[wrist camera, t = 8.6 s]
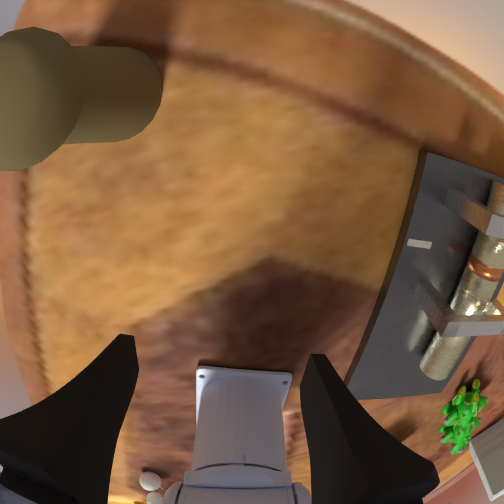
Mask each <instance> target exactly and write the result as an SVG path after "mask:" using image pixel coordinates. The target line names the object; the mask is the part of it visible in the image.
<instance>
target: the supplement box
mask: <svg viewBox="0 0 504 504" xmlns="http://www.w3.org/2000/svg"><path fill="white" fill-rule="evenodd" d="M470 453H471V456H472V458H473V460H474V462H475V465H476V467H477V469H478V472H479V474H480V477H481V479H482V481H483V484H484V486H485V489H486V491H487V494H488V496H489V499H490V501H493V500H494V499H496V498H497V497H499V496H500V495H502V494H504V418H502V419H501V420H500V421H498V422H497V423H495V424H494V425H492V426H491V427H489V428H488V429H486V430H485V431H483V432H482V433H480V434H478V435H477V436H475V437H474V438H472V439H470Z"/></svg>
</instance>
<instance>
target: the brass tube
mask: <svg viewBox="0 0 504 504" xmlns="http://www.w3.org/2000/svg"><path fill="white" fill-rule="evenodd" d="M486 206H487V207H488V208H490V209H492V210H493V211H495V212H496V213H499V214H503V215H504V184H502V183H499V182H496V181H493V183H492V187H491V191H490V195H489V198H488V202H487V205H486ZM503 271H504V239H503V238H498V237H494V236H489V235H485V234H484V233H483V232H481V231H480V230H479V231H478V234H477V237H476V240H475V242H474V245H473V248H472V251H471V253H470V256H469V259H468V261H467V264H466V267H465V269H464V272H463V274H462V277H461V279H460V281H459V284H458V286H457V288H456V291H455V293H454V295H453V298H452V300H451V302H450V304H449V305H450V307H451V308H452V309H453V311H454V312H455V313H456V314H457V315H483V314H484V312H485V310H486V308H487V306H488V304H489V302H490V300H491V298H492V295H493V293H494V291H495V289H496V287H497V284H498V282H499V280H500V278H501V276H502V273H503ZM470 338H471V336H463V337H441V336H440V335H439V333H438V332H437V331H436V333H435V335H434V337H433V339H432V341H431V343H430V344H429V346H428V348H427V350H426V352H425V354H424V355H423V357H422V359H421V361H420V368H421V370H422V372H423V373H424V374H425V375H426V376H428V377H429V378H431V379H434V380H444V379H445V378H447V376H448V375H449V373H450V371H451V370H452V368H453V367H454V365H455V364H456V362H457V360H458V359H459V357H460V355H461V354H462V352H463V350H464V349H465V347H466V345H467V343H468V342H469V340H470Z"/></svg>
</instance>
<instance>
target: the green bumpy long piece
mask: <svg viewBox="0 0 504 504" xmlns="http://www.w3.org/2000/svg"><path fill="white" fill-rule="evenodd" d="M479 387H480V381H479V379H475V380H474V382H473V384H472V390H471V391H468V392H466V387H465V385H464V386H462V387H461V388H460V389H459V390H458V394H457V395H456V396H455V397H454V399H453V400H454V401H453V400H452V403H448V404H447V405H446V406H445V407H444V409H443V410H442V413H443V414H445V415H446V414H449V413H450V414H449V415H448V416H447V417H446V418H445V419H444V425H443V426H442V427H441V428H440V430H439V431H440V432H442V433H443V432H446V431H447V432H446V433H445V434H444V435H443V436H442V437H441V439H440V442H441V443H442V444H446V443H450V442H451V443H450V444H451V450H450V453H451V454H458V453H463V452H464V451H465V449H466V448H467V446H468V444H469V443H470V440H469V439H470V438H472V437H470V435H471V432H472V431H474V430H475V429H476V428H477V427H478V426H479V425H480V422H481V418H476V417H477V414H478V412H480V411H481V410H482V409H483V408H484V407H485V406H486V404H487V401H488V398H487V397H483V396H479V392H480V388H479ZM450 428H452V429H450Z"/></svg>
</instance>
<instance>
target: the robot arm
mask: <svg viewBox="0 0 504 504" xmlns="http://www.w3.org/2000/svg"><path fill="white" fill-rule="evenodd" d="M138 373H139V366H138V359H137V353H136V347H135V340H134V336H131V335H125V334H119V335H118V336H117V337H116V338H115V339H114V340H113V341H112V342H111V343H110V344H109V345H108V346H107V347H106V348H105V349H104V350H103V351H102V352H101V353H100V354H99V355H98V356H97V357H96V358H95V359H94V360H93V361H92V362H91V363H90V364H89V365H88V366H87V367H86V368H85V369H84V370H83V371H81V372H80V373H79V374H78V375H77V376H76V377H75V378H73V379H72V380H71V381H70V382H68V383H67V384H66V385H65V386H63V387H62V388H60V389H59V390H58V391H56V392H55V393H53V394H52V395H50V396H49V397H47V398H45V399H44V400H42V401H40V402H39V403H37V404H35V405H33V406H31V407H29V408H27V409H25V410H23V411H21V412H18V413H16V414H13V415H11V416H8V417H5V418H2V419H0V464H1V466H3V471H2V473H1V472H0V504H107V503H108V491H109V483H110V476H111V470H112V464H113V458H114V453H115V448H116V443H117V439H118V436H119V432H120V429H121V426H122V423H123V421H124V418H125V415H126V412H127V410H128V407H129V404H130V401H131V398H132V396H133V393H134V390H135V386H136V382H137V377H138ZM201 374H202V375H201ZM284 381H285V382H284ZM291 382H292V374H291V373H288V372H271V371H256V370H242V369H231V368H220V367H211V366H198V367H197V369H196V425H197V427H196V435H195V443H194V451H193V459H192V468H191V471H185V474H184V482H180V481H177V482H175V483H174V484H173V485H172V486H171V487H169V488H168V489H167V491H166V492H165V494H164V497H163V500H162V504H423V501H422V498H423V497H425V496H426V495H427V494H429V493H430V492H431V491H433V490H434V489H435V488H436V487H437V486H438V484H439V483H440V480H439V477H438V473H437V470H436V468H435V466H434V464H433V462H431V461H429V460H427V459H425V458H424V457H422V456H420V455H418V454H417V453H415V452H413V451H412V450H410V449H409V448H408V447H406V446H405V445H403V444H402V443H400V442H399V441H398V440H397V439H395V438H394V437H393V436H392V435H390V434H389V433H388V432H387V431H386V430H385V429H383V428H382V427H381V426H380V425H379V424H378V423H377V422H376V421H375V420H374V419H373V418H372V417H371V416H370V415H369V414H368V413H367V411H366V410H365V409H364V408H363V407H362V406H361V404H360V403H359V402H358V401H357V400H356V398H355V397H354V396H353V394H352V393H351V392H350V390H349V389H348V388H347V386H346V385H345V384H344V382H343V381H342V379H341V378H340V376H339V375H338V373H337V372H336V370H335V369H334V367H333V366H332V364H331V363H330V361H329V360H328V358H327V356H326V355H325V354H310V357H309V360H308V363H307V366H306V369H305V372H304V375H303V378H302V381H301V384H300V400H301V410H302V416H303V421H304V426H305V432H306V437H307V443H308V448H309V455H310V467H311V493H312V499H311V495H310V492H309V490H308V489H307V488H306V487H304V486H303V485H302V483H300V482H296V483H292V480H291V472H290V471H287V464H286V452H285V440H284V428H283V417H282V409H283V406H284V403H285V400H286V397H287V394H288V391H289V388H290V385H291ZM447 504H450V503H447Z"/></svg>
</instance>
